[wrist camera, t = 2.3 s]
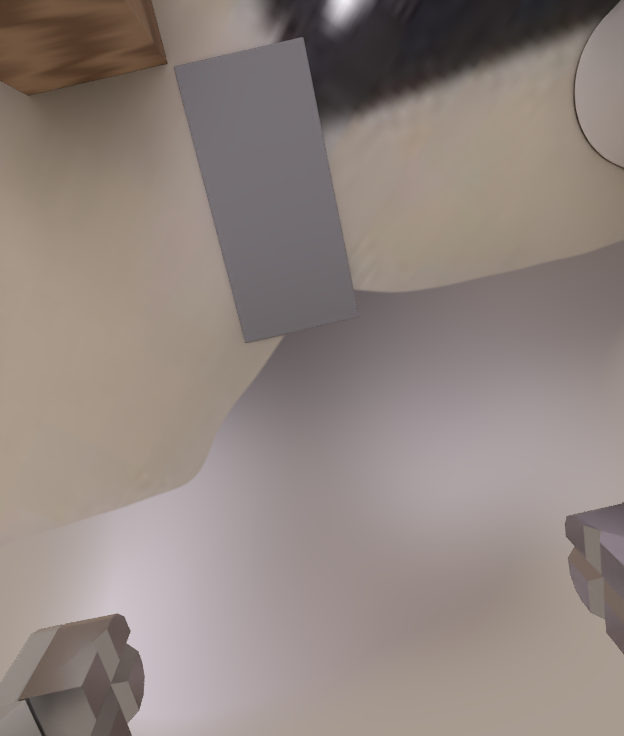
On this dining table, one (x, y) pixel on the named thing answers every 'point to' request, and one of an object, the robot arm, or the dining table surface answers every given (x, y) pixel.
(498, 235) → the dining table surface
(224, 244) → the mat
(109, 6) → the tall stand
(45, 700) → the robot arm
